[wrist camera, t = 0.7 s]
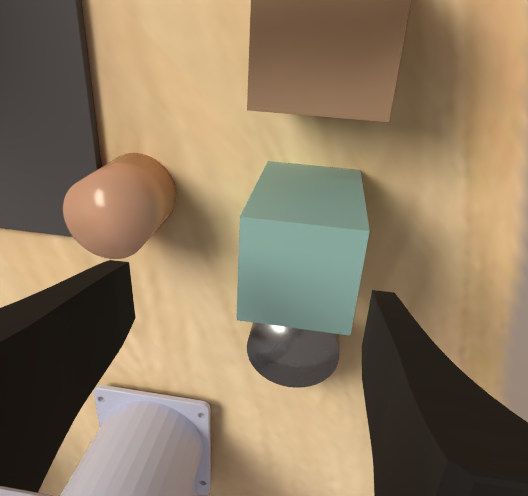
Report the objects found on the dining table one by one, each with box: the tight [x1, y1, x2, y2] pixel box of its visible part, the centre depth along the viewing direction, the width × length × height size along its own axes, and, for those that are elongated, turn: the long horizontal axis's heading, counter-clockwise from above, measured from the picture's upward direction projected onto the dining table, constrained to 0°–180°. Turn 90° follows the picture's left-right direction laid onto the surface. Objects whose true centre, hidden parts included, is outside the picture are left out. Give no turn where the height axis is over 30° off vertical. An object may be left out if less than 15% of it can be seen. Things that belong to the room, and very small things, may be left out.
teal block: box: [237, 161, 370, 336], centre depth 19 cm, size 4×4×7 cm
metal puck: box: [247, 322, 339, 387], centre depth 25 cm, size 5×5×2 cm
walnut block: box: [247, 0, 411, 122], centre depth 17 cm, size 5×5×5 cm
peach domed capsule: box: [63, 153, 176, 259], centre depth 22 cm, size 4×4×4 cm
